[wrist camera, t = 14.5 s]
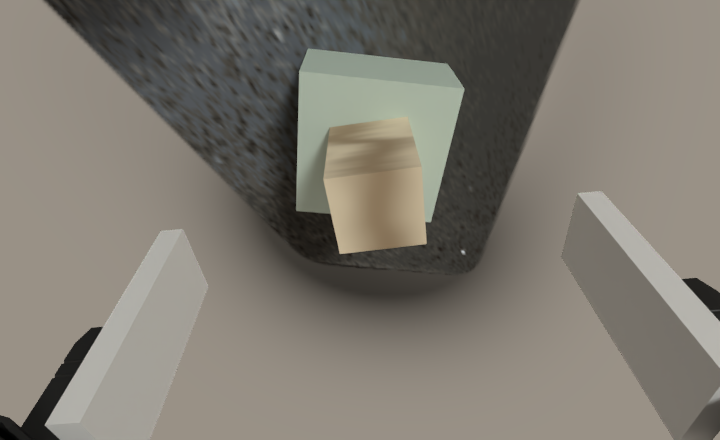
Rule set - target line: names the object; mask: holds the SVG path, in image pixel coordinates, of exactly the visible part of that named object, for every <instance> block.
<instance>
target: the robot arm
mask: <svg viewBox="0 0 720 440" xmlns="http://www.w3.org/2000/svg"><path fill="white" fill-rule="evenodd" d="M561 257H562V259H563V261H564V262H565V264H566V265H567V267H568V269H569V270H570V272H571V274H572V275H573V277H574V278H575V280H576V281H577V283H578V285H579V286H580V288H581V290H582V291H583V293H584V295H585V296H586V298H587V299H588V301H589V303H590V304H591V306H592V308H593V309H594V311H595V312H596V314H597V316H598V317H599V319H600V321H601V322H602V324H603V325H604V327H605V329H606V330H607V332H608V334H609V335H610V337H611V338H612V340H613V342H614V343H615V345H616V346H617V348H618V350H619V351H620V353H621V355H622V356H623V358H624V359H625V361H626V363H627V364H628V366H629V368H630V369H631V371H632V372H633V374H634V376H635V377H636V379H637V381H638V382H639V384H640V385H641V387H642V389H643V390H644V392H645V393H646V395H647V397H648V398H649V400H650V402H651V403H652V405H653V406H654V408H655V410H656V411H657V413H658V415H659V416H660V418H661V419H662V421H663V423H664V424H665V426H666V427H667V429H668V431H669V432H670V434H671V436H672V437H673V439H674V440H713V438H714V437H715V436H716V435H717V434H718V432H719V431H720V293H719V292H718V291H716V290H715V289H713V288H712V287H710V286H708V285H706V284H705V283H704V282H702V281H700V280H699V279H697V278H690V279H681V278H680V277H679V276H678V275H677V274H676V273H675V272H674V271H673V269H671V267H670V266H669V265H668V264H667V263H666V262H665V261H664V260H663V258H662V257H661V256H660V255H659V254H658V253H657V252H656V251H655V250H654V249H653V248H652V246H651V245H650V244H649V243H648V242H647V241H646V240H645V239H644V238H643V236H642V235H641V234H640V233H639V232H638V231H637V230H636V229H635V228H634V227H633V226H632V224H631V223H630V222H629V221H628V220H627V219H626V218H625V217H624V216H623V214H622V213H621V212H620V211H619V210H618V209H617V208H616V207H615V206H614V205H613V203H612V202H611V201H610V200H609V199H608V198H607V197H606V196H605V195H604V194H603V192H602V191H598V192H588V193H577V197H576V201H575V205H574V209H573V212H572V216H571V221H570V224H569V228H568V232H567V236H566V240H565V244H564V248H563V252H562V256H561ZM207 289H208V284H207V282H206V280H205V278H204V275H203V273H202V271H201V269H200V266H199V264H198V262H197V260H196V258H195V255H194V253H193V251H192V248H191V246H190V244H189V242H188V239H187V237H186V235H185V233H184V230H183V229H178V230H167V231H161V232H160V233H159V235H158V237H157V238H156V240H155V242H154V244H153V245H152V247H151V248H150V250H149V252H148V253H147V255H146V257H145V258H144V260H143V262H142V263H141V265H140V267H139V268H138V270H137V272H136V273H135V275H134V277H133V278H132V280H131V282H130V283H129V285H128V287H127V288H126V290H125V292H124V293H123V295H122V297H121V298H120V300H119V302H118V303H117V305H116V307H115V308H114V310H113V312H112V314H111V315H110V317H109V318H108V320H107V322H106V323H105V325H104V327H97V328H91V329H90V330H89V331H88V332H87V333H86V334H84V336H82V338H80V339H79V340H78V341H77V342H76V343H75V344H74V346H73V347H72V349H71V350H70V352H69V354H68V355H67V357H66V358H65V360H64V364H61V366H60V368H59V369H58V371H57V372H56V374H55V378H53V379H52V380H51V382H50V383H49V385H48V386H47V388H46V389H45V391H44V392H43V394H42V395H41V397H40V399H39V400H38V402H37V403H36V405H35V407H34V408H33V410H32V411H31V413H30V414H29V416H28V417H27V419H26V420H25V422H24V423H23V425H22V427H19V426H18V425H17V424H16V423H15V422H14V421H12V420H11V419H10V418H8V417H4V416H1V415H0V440H150V438H151V436H152V433H153V430H154V427H155V425H156V422H157V420H158V417H159V415H160V412H161V409H162V407H163V404H164V402H165V399H166V396H167V394H168V391H169V388H170V386H171V383H172V381H173V378H174V375H175V372H176V370H177V367H178V365H179V362H180V359H181V357H182V354H183V351H184V349H185V346H186V344H187V341H188V339H189V336H190V333H191V331H192V328H193V326H194V323H195V320H196V318H197V315H198V312H199V310H200V307H201V305H202V302H203V299H204V297H205V294H206V291H207Z"/></svg>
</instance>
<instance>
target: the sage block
mask: <svg viewBox="0 0 720 440" xmlns="http://www.w3.org/2000/svg"><path fill="white" fill-rule="evenodd" d="M463 93H464V87H463V86H462V84H461V83H460V81H459V80H458V79H457V77H456V76H455V74H454V73H453V71H452V70H451V68H450V67H449V65H448V64H443V63H434V62H425V61H416V60H407V59H398V58H389V57H380V56H371V55H362V54H353V53H343V52H334V51H325V50H316V49H308V50H307V53H306V55H305V58H304V60H303V63H302V65H301V68H300V70H299V102H298V146H297V190H296V211H304V212H316V213H328V214H331V212H330V207H329V203H328V198H327V194H326V189H325V185H324V180H323V178H324V169H325V161H326V153H327V145H328V137H329V129H330V127H336V126H343V125H350V124H357V123H365V122H372V121H379V120H386V119H393V118H400V117H407V116H408V119H409V123H410V126H411V130H412V134H413V137H414V141H415V144H416V148H417V151H418V155H419V159H420V162H421V166H422V179H423V195H424V211H425V222H431V219H432V215H433V211H434V207H435V203H436V199H437V195H438V191H439V187H440V184H441V180H442V176H443V172H444V168H445V164H446V160H447V156H448V152H449V148H450V144H451V140H452V136H453V132H454V128H455V124H456V120H457V116H458V112H459V108H460V105H461V101H462V97H463Z"/></svg>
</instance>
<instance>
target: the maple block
mask: <svg viewBox="0 0 720 440" xmlns="http://www.w3.org/2000/svg"><path fill="white" fill-rule="evenodd" d="M323 180H324V185H325V189H326V194H327V198H328V203H329V207H330V212H331V216H332V221H333V225H334V230H335V234H336V239H337V243H338V248H339V252H340V254H344V253H353V252H361V251H370V250H379V249H387V248H396V247H404V246H413V245H421V244H427V243H426V227H425V211H424V195H423V179H422V166H421V162H420V159H419V155H418V151H417V148H416V144H415V141H414V137H413V134H412V130H411V126H410V123H409V119H408V116H407V117H400V118H393V119H386V120H379V121H372V122H365V123H357V124H350V125H343V126H336V127H330V129H329V137H328V145H327V153H326V161H325V169H324V178H323Z"/></svg>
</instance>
